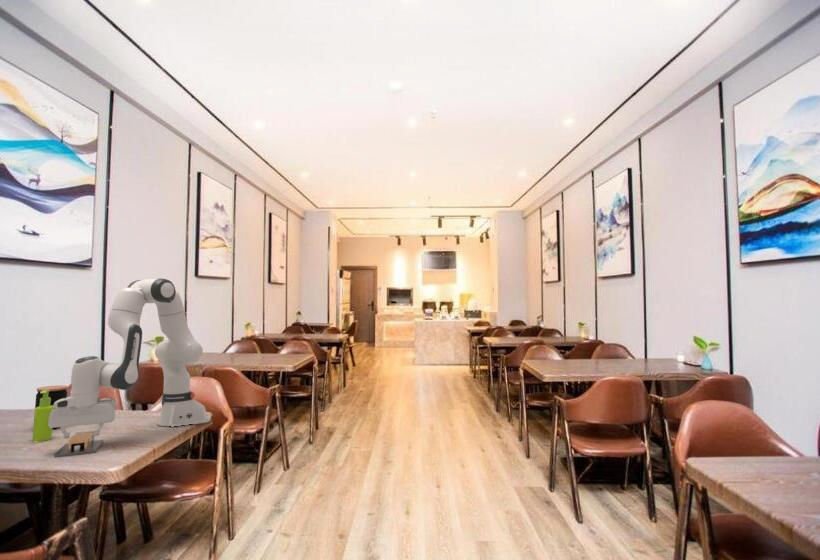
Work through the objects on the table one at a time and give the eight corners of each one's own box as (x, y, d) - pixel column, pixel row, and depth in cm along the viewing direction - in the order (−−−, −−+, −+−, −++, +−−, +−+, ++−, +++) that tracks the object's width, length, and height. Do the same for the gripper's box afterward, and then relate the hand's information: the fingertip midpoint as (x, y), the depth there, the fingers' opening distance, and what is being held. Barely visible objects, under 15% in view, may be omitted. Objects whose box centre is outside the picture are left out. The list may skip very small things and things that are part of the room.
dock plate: (103, 442, 168) (104, 429, 168) (95, 452, 155) (96, 439, 156) (65, 446, 162) (66, 433, 163) (54, 457, 150) (55, 443, 150)
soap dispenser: (29, 443, 166) (33, 392, 167) (35, 438, 172) (39, 389, 173) (48, 441, 168) (52, 390, 170) (53, 436, 174) (57, 388, 176)
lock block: (92, 442, 164) (93, 432, 165) (86, 449, 156) (87, 438, 157) (74, 444, 162) (75, 433, 162) (68, 451, 154) (68, 440, 154)
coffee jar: (46, 432, 181) (49, 389, 183) (26, 430, 183) (30, 388, 185) (70, 425, 192) (73, 385, 193) (51, 424, 194) (55, 384, 195)
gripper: (118, 395, 168) (116, 431, 167) (53, 400, 159) (51, 437, 158) (115, 398, 162) (113, 435, 161) (48, 403, 153) (45, 442, 152)
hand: (82, 436), depth 159 cm, fingers open, 8 cm apart
